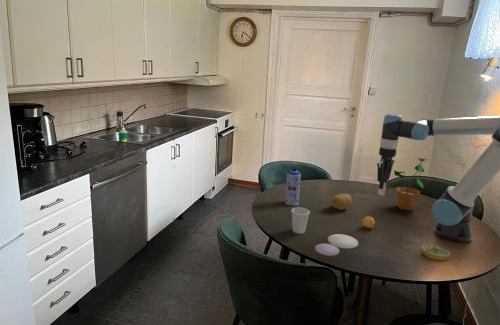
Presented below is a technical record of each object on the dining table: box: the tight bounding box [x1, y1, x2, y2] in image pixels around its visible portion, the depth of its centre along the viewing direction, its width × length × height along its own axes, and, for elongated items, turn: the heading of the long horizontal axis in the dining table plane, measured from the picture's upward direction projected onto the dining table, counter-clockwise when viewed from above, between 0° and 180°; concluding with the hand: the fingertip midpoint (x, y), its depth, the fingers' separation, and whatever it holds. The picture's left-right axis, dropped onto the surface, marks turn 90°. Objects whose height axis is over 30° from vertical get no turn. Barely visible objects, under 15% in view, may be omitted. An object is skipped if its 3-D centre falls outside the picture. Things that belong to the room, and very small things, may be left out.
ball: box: [362, 216, 376, 229], centre depth 177 cm, size 6×6×6 cm
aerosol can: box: [284, 167, 302, 206], centre depth 202 cm, size 8×8×20 cm
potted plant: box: [393, 156, 428, 211], centre depth 201 cm, size 18×19×30 cm
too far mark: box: [314, 243, 340, 257], centre depth 154 cm, size 10×10×1 cm
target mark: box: [327, 233, 359, 249], centre depth 162 cm, size 13×13×1 cm
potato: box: [330, 193, 353, 210], centre depth 199 cm, size 10×14×8 cm
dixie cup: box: [290, 206, 311, 235], centre depth 169 cm, size 8×8×10 cm
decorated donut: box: [421, 243, 451, 262], centre depth 153 cm, size 10×11×4 cm
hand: (381, 194), depth 180 cm, fingers closed
